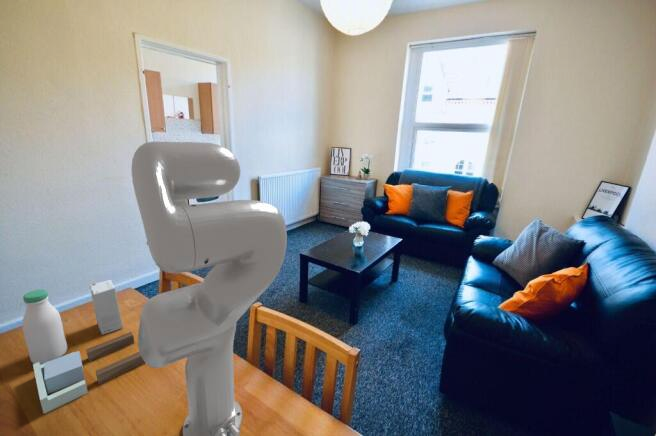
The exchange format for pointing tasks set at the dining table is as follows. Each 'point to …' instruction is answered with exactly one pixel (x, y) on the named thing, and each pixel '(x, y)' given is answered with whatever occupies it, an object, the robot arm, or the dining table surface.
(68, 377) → the block
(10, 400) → the dining table surface
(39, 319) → the milk bottle
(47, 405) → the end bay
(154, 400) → the dining table surface
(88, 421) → the dining table surface
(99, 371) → the brown parallel rails
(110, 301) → the skincare box
